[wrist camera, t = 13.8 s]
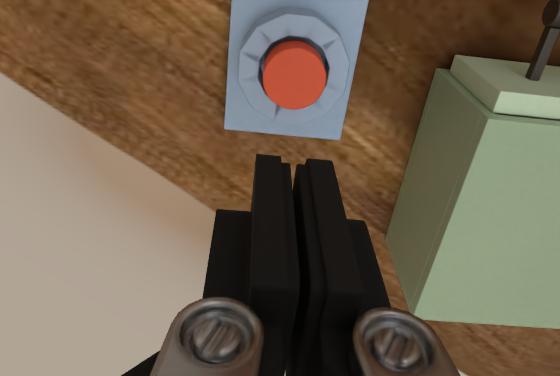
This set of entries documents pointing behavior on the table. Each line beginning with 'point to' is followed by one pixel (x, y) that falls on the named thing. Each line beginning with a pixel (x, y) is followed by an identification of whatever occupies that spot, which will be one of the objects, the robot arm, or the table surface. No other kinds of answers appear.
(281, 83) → the red switch button
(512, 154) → the bedside cabinet
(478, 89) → the shelf drawer
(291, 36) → the switch box
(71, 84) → the table surface
